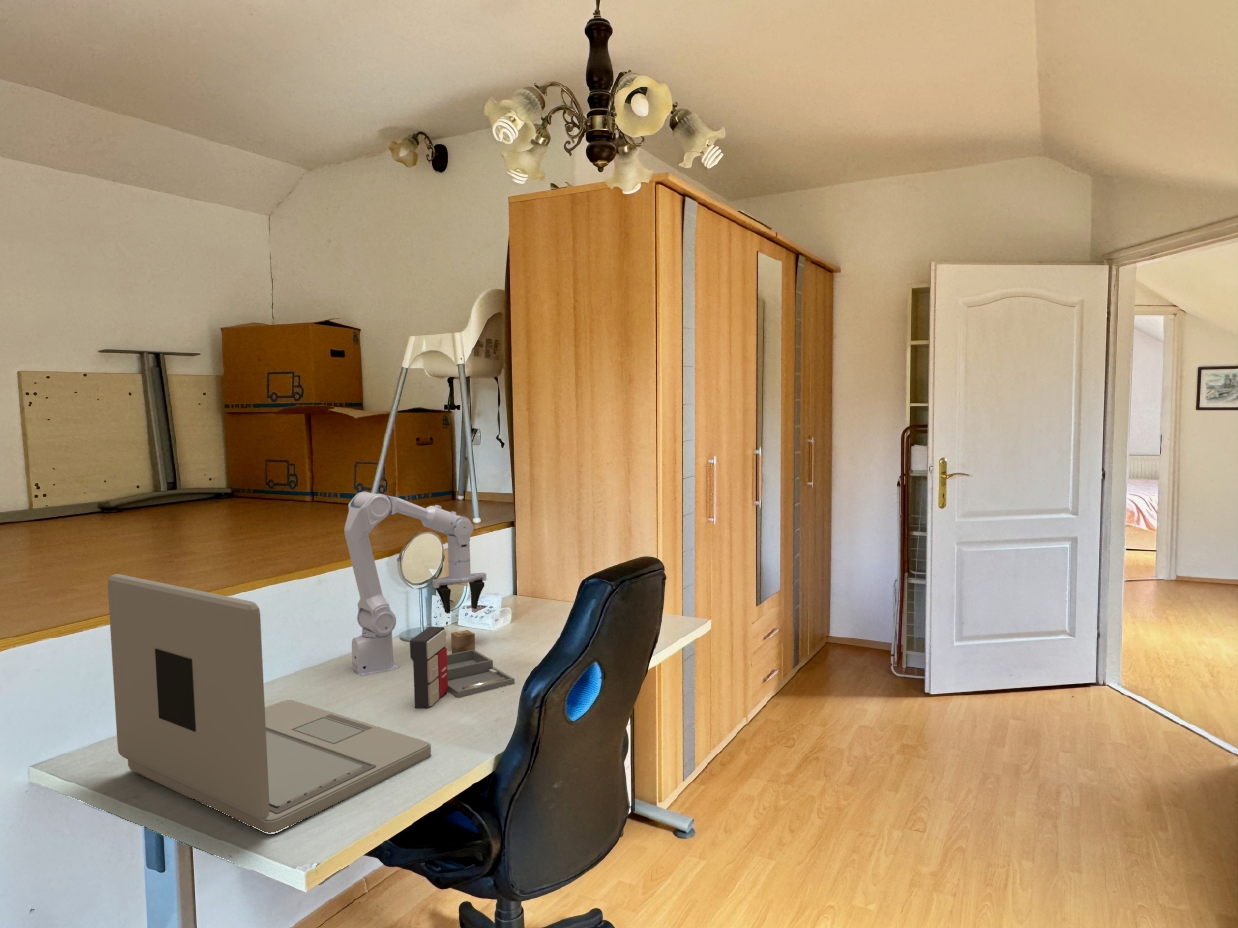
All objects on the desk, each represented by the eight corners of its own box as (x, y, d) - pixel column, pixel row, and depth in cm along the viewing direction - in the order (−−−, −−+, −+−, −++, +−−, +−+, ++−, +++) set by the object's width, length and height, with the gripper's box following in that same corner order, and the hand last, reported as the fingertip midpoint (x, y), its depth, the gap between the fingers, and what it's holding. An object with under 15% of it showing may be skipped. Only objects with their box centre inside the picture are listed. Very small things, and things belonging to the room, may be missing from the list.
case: (438, 684, 183) (437, 671, 183) (420, 672, 192) (420, 660, 192) (493, 672, 191) (492, 660, 191) (473, 661, 200) (473, 649, 200)
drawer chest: (431, 710, 167) (428, 640, 166) (411, 709, 168) (409, 640, 167) (450, 691, 178) (447, 626, 177) (431, 690, 179) (429, 626, 178)
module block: (458, 660, 200) (458, 635, 199) (451, 655, 203) (451, 631, 203) (475, 656, 202) (474, 632, 202) (468, 652, 206) (467, 628, 205)
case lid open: (457, 698, 174) (457, 691, 174) (438, 684, 183) (438, 678, 183) (514, 685, 182) (514, 678, 182) (493, 672, 191) (493, 666, 191)
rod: (465, 692, 175) (464, 686, 176) (462, 692, 176) (461, 686, 177) (505, 683, 181) (504, 676, 181) (503, 683, 182) (502, 677, 182)
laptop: (435, 758, 144) (428, 564, 142) (260, 846, 116) (248, 605, 113) (289, 711, 169) (281, 544, 166) (115, 774, 140) (103, 574, 138)
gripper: (439, 566, 203) (440, 617, 204) (490, 559, 211) (492, 608, 212) (429, 561, 209) (430, 612, 210) (479, 555, 217) (481, 603, 218)
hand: (460, 610), depth 212 cm, fingers open, 7 cm apart
